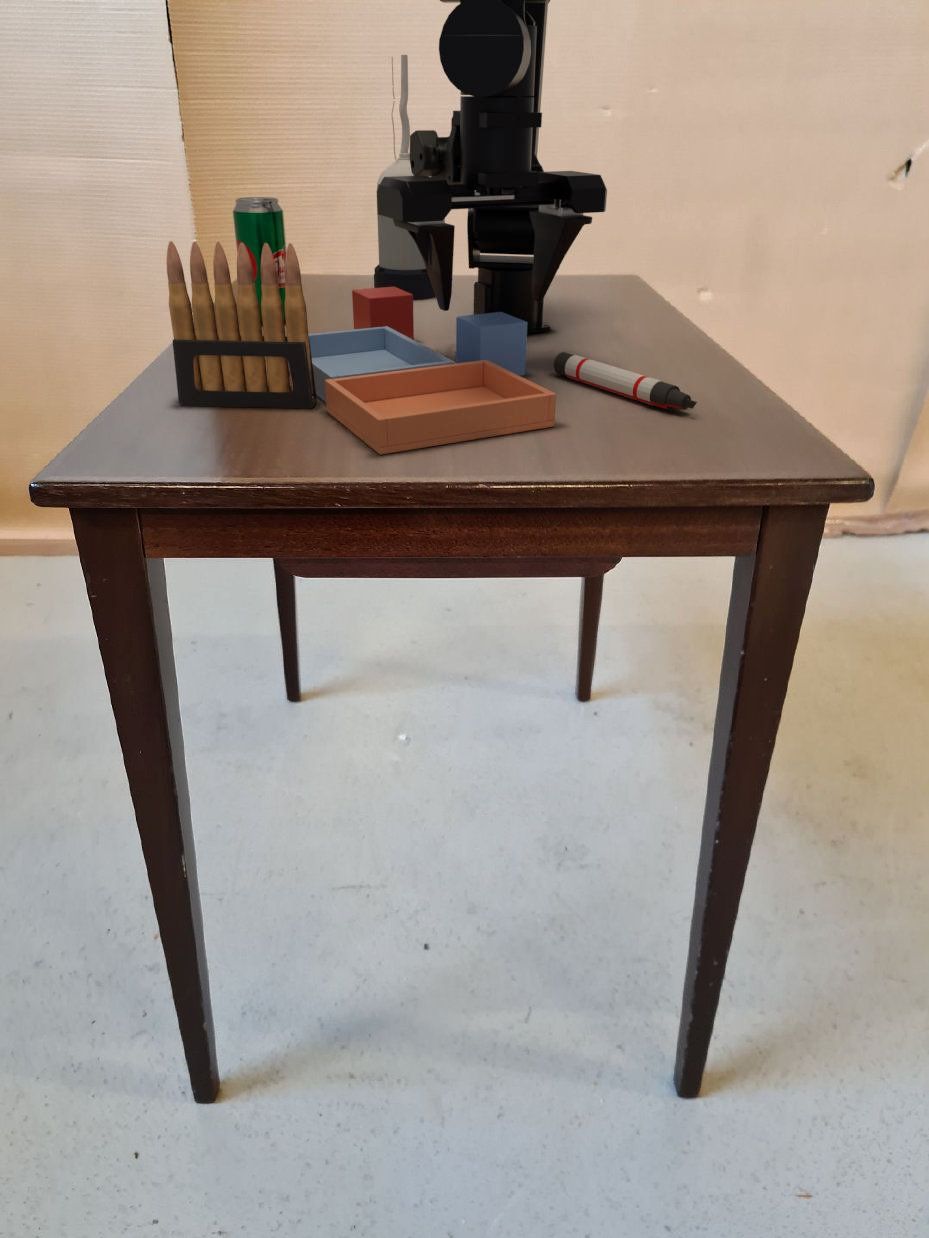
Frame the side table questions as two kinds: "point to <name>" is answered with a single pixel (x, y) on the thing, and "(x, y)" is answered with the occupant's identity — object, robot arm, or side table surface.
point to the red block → (384, 309)
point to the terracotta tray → (438, 405)
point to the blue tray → (366, 354)
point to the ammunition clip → (217, 357)
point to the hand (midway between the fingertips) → (491, 305)
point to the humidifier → (396, 244)
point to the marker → (622, 382)
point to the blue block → (492, 340)
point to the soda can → (262, 237)
